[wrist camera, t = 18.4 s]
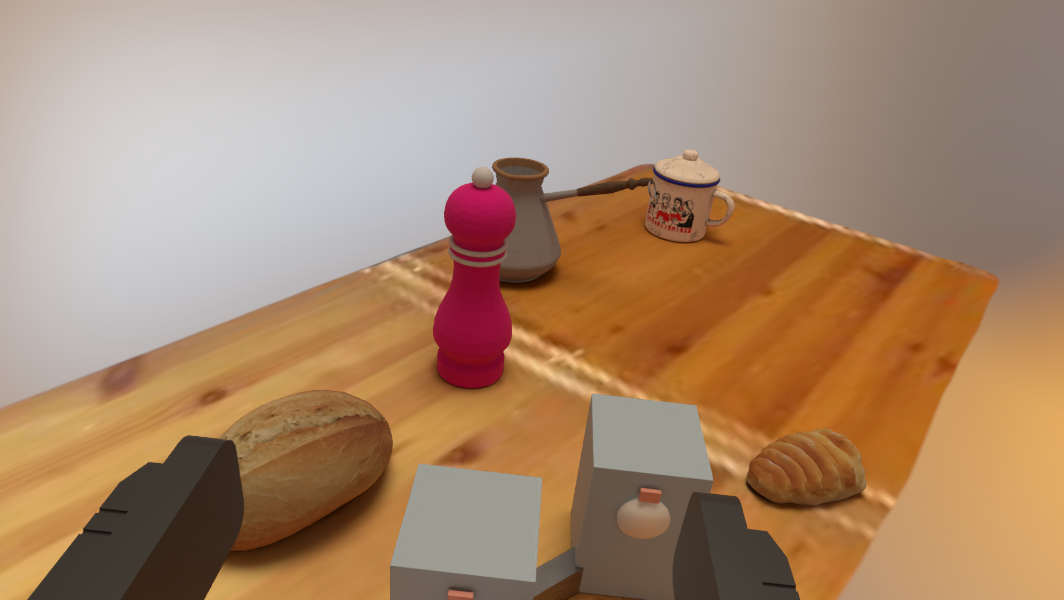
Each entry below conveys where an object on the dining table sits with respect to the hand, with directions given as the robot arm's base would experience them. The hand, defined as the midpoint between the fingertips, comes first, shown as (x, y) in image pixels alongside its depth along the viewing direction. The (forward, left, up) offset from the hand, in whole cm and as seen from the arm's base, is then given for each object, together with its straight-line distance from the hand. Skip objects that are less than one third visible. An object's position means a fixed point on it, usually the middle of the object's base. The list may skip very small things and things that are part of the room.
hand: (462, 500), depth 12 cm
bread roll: (+7, +30, -30) cm, 43 cm away
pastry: (+42, +11, -30) cm, 53 cm away
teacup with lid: (+70, +51, -30) cm, 91 cm away
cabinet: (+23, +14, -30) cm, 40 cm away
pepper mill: (+26, +38, -30) cm, 55 cm away
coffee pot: (+44, +49, -30) cm, 72 cm away
